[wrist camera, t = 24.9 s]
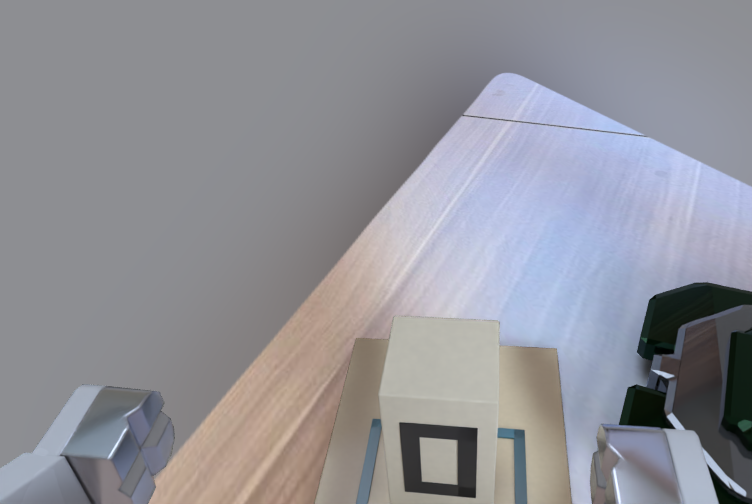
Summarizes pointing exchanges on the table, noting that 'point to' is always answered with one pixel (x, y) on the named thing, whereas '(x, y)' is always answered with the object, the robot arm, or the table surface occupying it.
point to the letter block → (440, 410)
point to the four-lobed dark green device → (701, 378)
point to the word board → (514, 438)
